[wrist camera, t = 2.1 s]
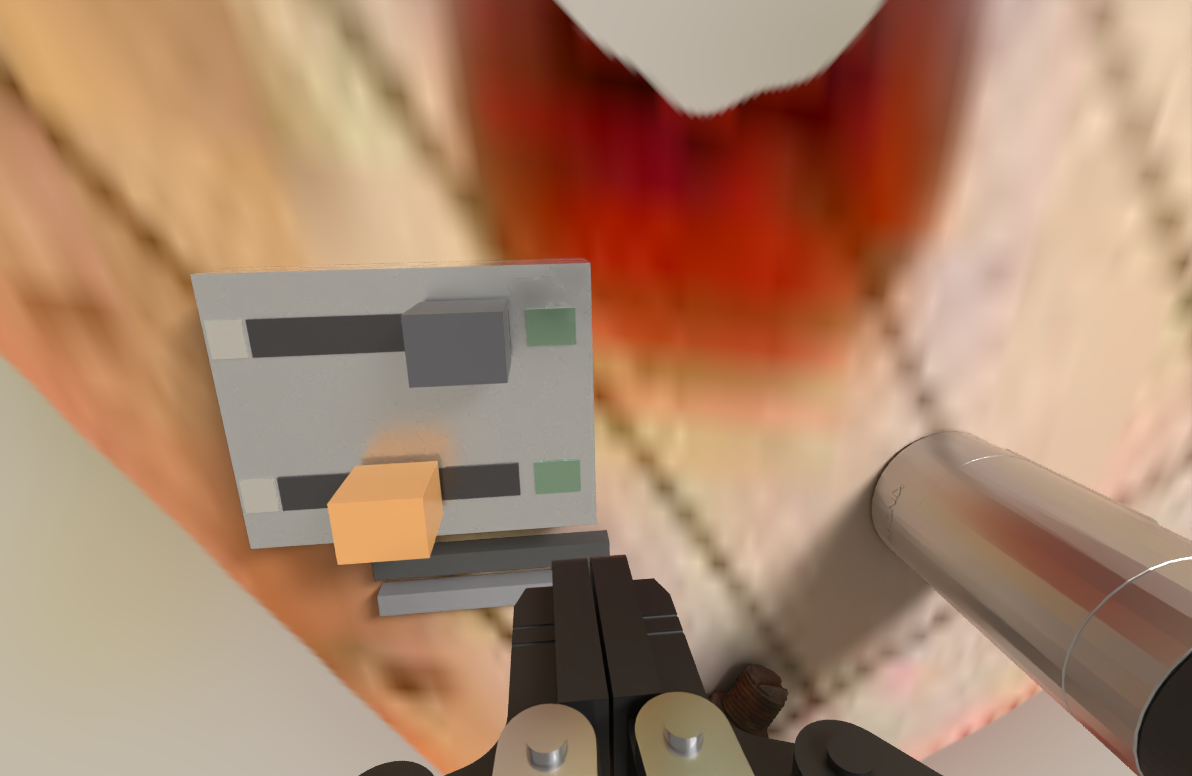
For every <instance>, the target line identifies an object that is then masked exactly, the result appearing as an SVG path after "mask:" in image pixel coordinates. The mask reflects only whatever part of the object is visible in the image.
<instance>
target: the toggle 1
mask: <svg viewBox="0 0 1192 776" xmlns="http://www.w3.org/2000/svg"><path fill="white" fill-rule="evenodd" d="M327 506H328V512H329V518H330V524H331V529H332V535H333V541H334V547H335V553H336V558H337V564H338V565H343V564H357V563H370V562H383V561H397V560H410V559H423V558H430V555H431V552H432V549H433V546H434V543H435V539H436V536H437V533H438V530H439V527H440V523H441V520H442V517H443V506H442V497H441V488H440V479H439V469H438V461H428V462H411V463H394V464H378V465H361V466H355V467H354V468H353V470H352V471H351V472H350V474H349V475H348V477H347V478H346V479H345V481H344V482H343V483H342V485H341V486H340V487H339V489H338V490H337V491H336V493H335V494H334V495H333V497H332V498H331V500H330V501H329V502H328V504H327Z"/></svg>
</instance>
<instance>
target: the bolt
mask: <svg viewBox="0 0 1192 776" xmlns="http://www.w3.org/2000/svg"><path fill="white" fill-rule="evenodd" d="M781 682H782V681H781V679H780V677H779V676H778V675H777V674H776V673H774V672H773V671H771V670H769V669H767V668H765V667H763V666H761V665H752V664H750V665H748V666H747V668H745V669H744V671H743V672H742V675H740V676H739V678H738V679H737V680H736V682H735V683H734V686H732V687H731V689H730V690H729V691H728V693H724V692H714V693H713V694H712V695H711V697H710V698H709V701H710V702H711V703H713V704H714V705H715V706H717V707H718V708H719V709H720V710H721V711H722V713H723V714H724V715H725V716H726V718H727V720H728V721H729V723H730V724H731V725H733V726H734V727H736V728H738V729H740V730H742V731H744V732H747V733H749V734H752V735H756V736H760V737H764V738H769V737H768V733H767V727H768V726H770V723H772V722H773V719H775V717H776V715H778V713H779V711H781V708H783V707H784V704H785V701H786V700H787V695H788V691H787V689H784V688H782V686H781Z"/></svg>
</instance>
